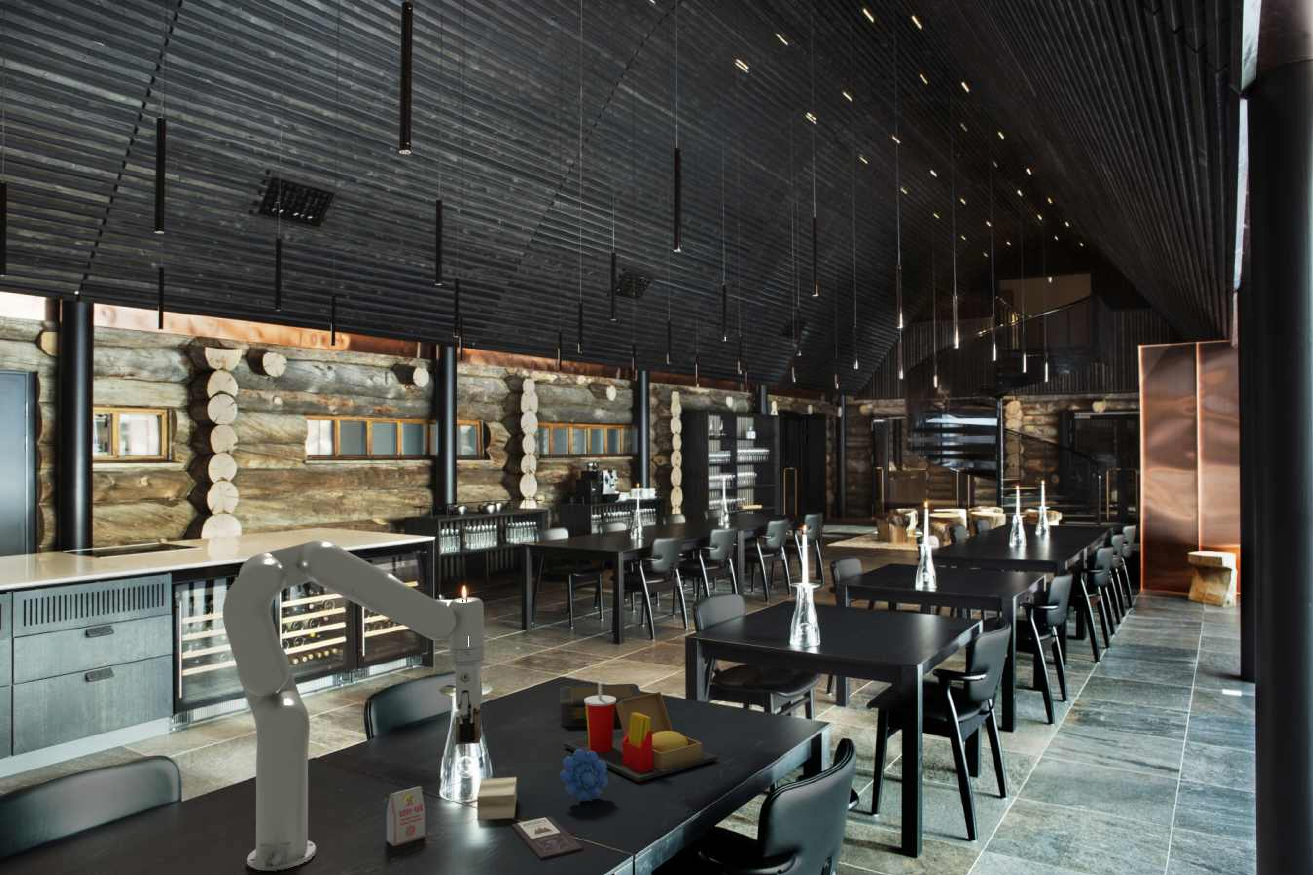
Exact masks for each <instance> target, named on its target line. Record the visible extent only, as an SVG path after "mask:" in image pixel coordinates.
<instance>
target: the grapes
mask: <svg viewBox="0 0 1313 875" xmlns="http://www.w3.org/2000/svg"><path fill="white" fill-rule="evenodd" d="M562 765H563V767H564V768H565V769H563V770H561V771H560V774H559V778H560V780H561V782H563V783H565V784H566V785H565V791H566V793H567V795H569V796H577V798H578V800H579V801H581V802H587V801H588V800H589V799H590V797H592V798H593V799H595V798H596V799H598V798H600V796H602V795H601V794H602V789H601V788H605V787H606V786H608V784H609V779H608V776H607V775H606V774H605V773H606V772H607V770H608V767H607V766H606V763H605V762H604V761H600V760H599V761H598V755H597V753H596V752H595V751H589V752H587V754H585V752H584V751H583V750H581V749H577V750H576V751H573V755H572V756H566V757H565V758H564V759H563V764H562Z"/></svg>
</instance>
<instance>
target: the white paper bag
mask: <svg viewBox="0 0 1313 875" xmlns="http://www.w3.org/2000/svg"><path fill="white" fill-rule="evenodd" d="M424 801H425V800H424V795H423V787H422V786H421V785H420V786H416V787H412V788H408V789H404V790H400V791H396V792H393V793H392V792H391V793H389V801H388V805H387V807H386V808H387V809H386V841H387V842H388V843H389V844H391V846H393V847H396V846H399V845H402V844H406V843H409V842H413V841H416V840H419V839H423V838H425V837H426V807H425V806H426V805H425V802H424Z"/></svg>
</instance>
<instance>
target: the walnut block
mask: <svg viewBox="0 0 1313 875" xmlns="http://www.w3.org/2000/svg"><path fill="white" fill-rule="evenodd" d="M468 713H470V711H468ZM454 717H455V745H469V744H470V745H471V744H480V743H481V739H482V735H483V734H482V708H478V709H473V722H475V740H474V741H473V742H460V730H459V724H460V710H458V709H457V712H456V715H455V716H454Z"/></svg>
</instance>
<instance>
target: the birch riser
mask: <svg viewBox="0 0 1313 875" xmlns="http://www.w3.org/2000/svg"><path fill="white" fill-rule="evenodd" d="M480 780H481V781H480V785H479V788H478V791H477V798H476V799H477V801H476V802H477V804H476V806H477V808H476V810H477V811H476V812H477V816H476V817H477V820H478V821H481V820H482V821H483V820H484V821H485V820H497V819H498V820H499V819H514V818H515V814H516V806H517V800H518V799H517V798H518V797H517V795H518V794H517V792H518V791H517V788H518V786H517V784H518V783H517V782H518V781H517V776H513V777H494V778H493V777H491V778H481V779H480Z"/></svg>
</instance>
